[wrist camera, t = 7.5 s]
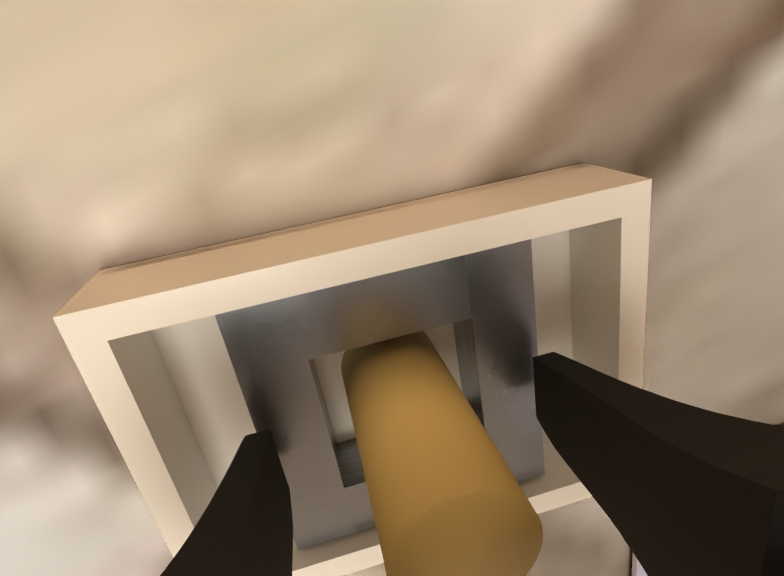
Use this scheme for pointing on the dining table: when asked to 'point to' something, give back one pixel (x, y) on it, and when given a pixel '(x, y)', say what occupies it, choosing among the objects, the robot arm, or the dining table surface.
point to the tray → (323, 270)
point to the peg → (433, 468)
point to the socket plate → (375, 324)
